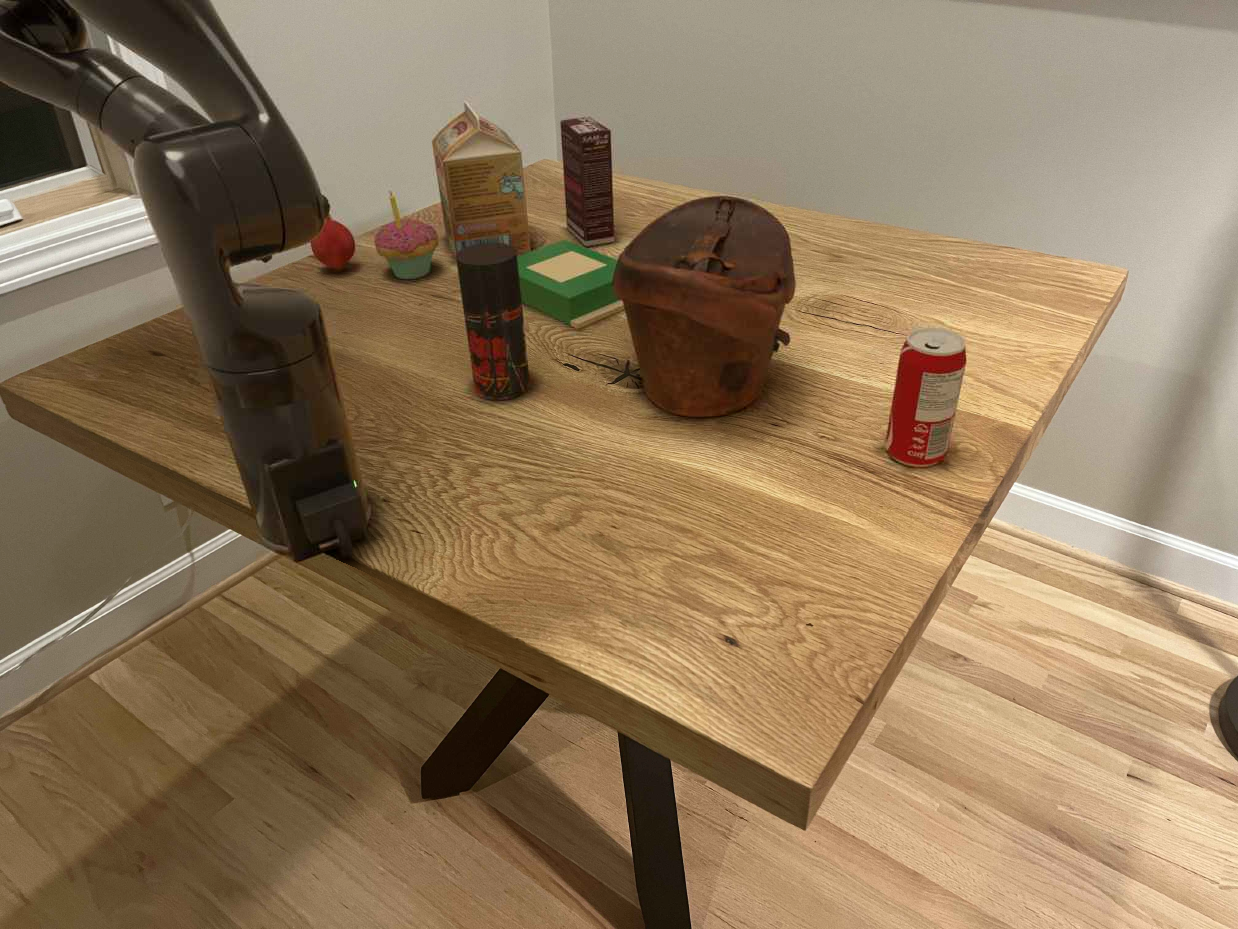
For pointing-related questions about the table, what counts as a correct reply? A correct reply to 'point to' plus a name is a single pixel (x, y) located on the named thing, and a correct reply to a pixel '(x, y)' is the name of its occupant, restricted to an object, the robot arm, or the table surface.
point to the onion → (334, 245)
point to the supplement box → (588, 180)
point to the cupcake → (407, 245)
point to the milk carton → (480, 184)
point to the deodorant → (494, 320)
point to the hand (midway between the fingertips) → (299, 233)
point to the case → (706, 303)
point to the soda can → (925, 396)
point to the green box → (569, 283)
